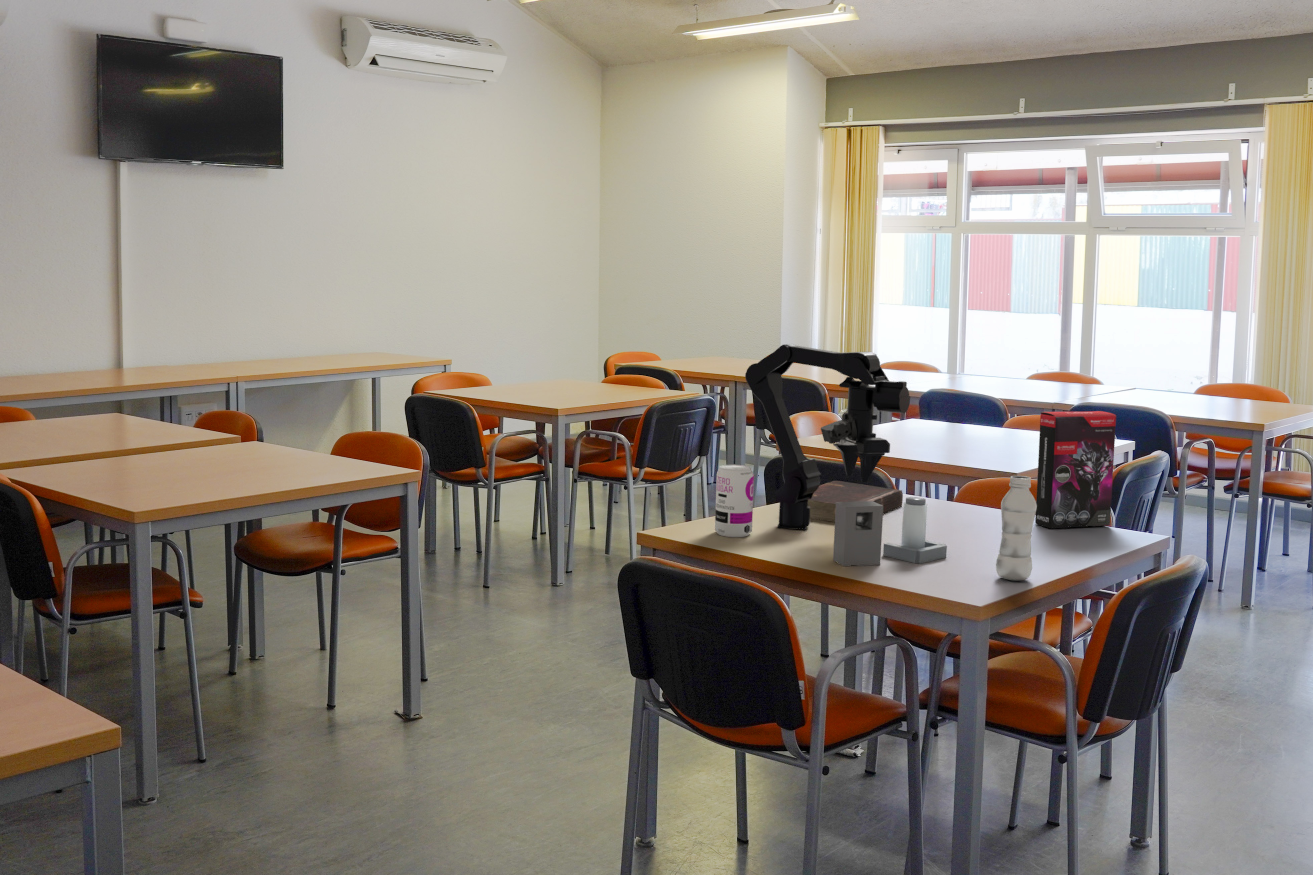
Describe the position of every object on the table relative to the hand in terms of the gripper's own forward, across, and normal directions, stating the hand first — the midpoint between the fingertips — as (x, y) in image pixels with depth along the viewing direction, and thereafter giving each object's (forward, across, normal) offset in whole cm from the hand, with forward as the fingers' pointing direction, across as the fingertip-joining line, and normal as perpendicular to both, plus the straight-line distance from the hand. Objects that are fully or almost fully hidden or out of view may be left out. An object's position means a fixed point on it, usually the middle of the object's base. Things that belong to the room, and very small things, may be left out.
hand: (856, 479), depth 251 cm
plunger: (+6, +19, -10) cm, 22 cm away
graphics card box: (+13, -3, +58) cm, 59 cm away
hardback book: (+14, -28, +11) cm, 33 cm away
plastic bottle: (+13, +40, +15) cm, 44 cm away
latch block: (+13, +22, -10) cm, 28 cm away
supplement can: (+13, -7, -26) cm, 30 cm away
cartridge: (+13, +19, +5) cm, 23 cm away
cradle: (+13, +19, +5) cm, 23 cm away
